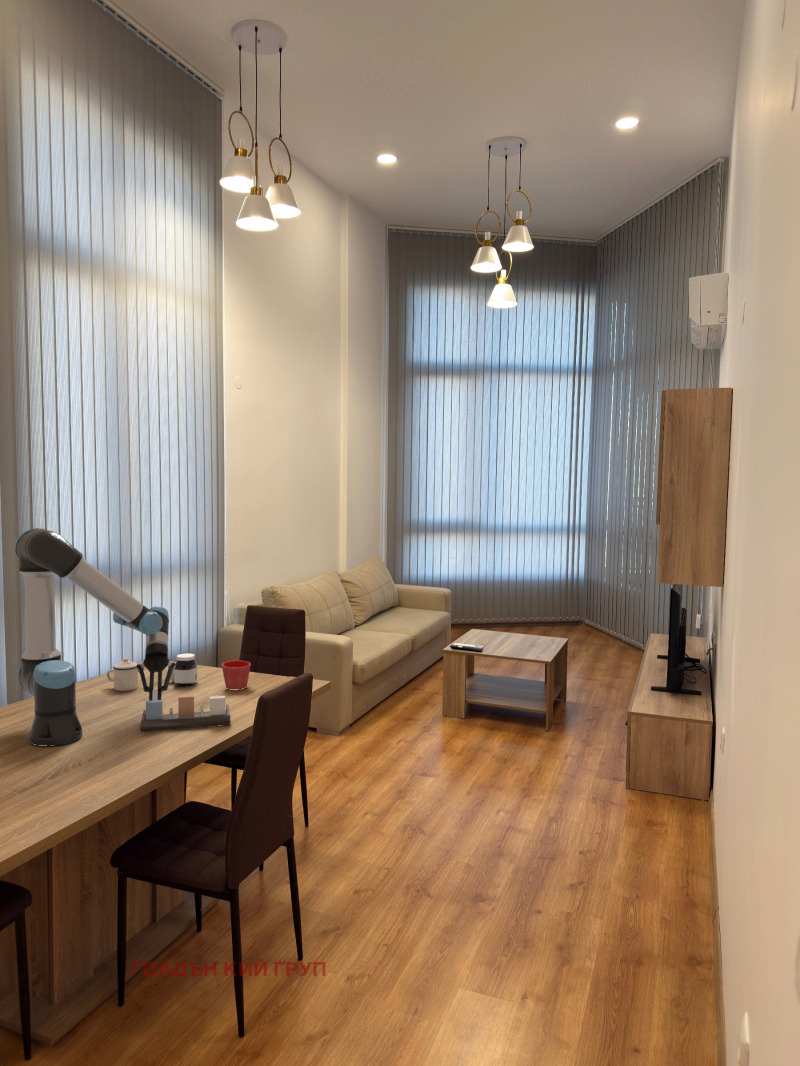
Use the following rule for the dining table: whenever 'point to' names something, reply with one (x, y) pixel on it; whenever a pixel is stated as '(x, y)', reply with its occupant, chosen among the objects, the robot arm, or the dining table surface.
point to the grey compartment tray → (184, 721)
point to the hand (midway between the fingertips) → (154, 709)
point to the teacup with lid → (124, 675)
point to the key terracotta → (186, 706)
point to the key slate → (154, 709)
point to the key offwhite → (217, 705)
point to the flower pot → (236, 674)
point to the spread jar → (185, 670)
